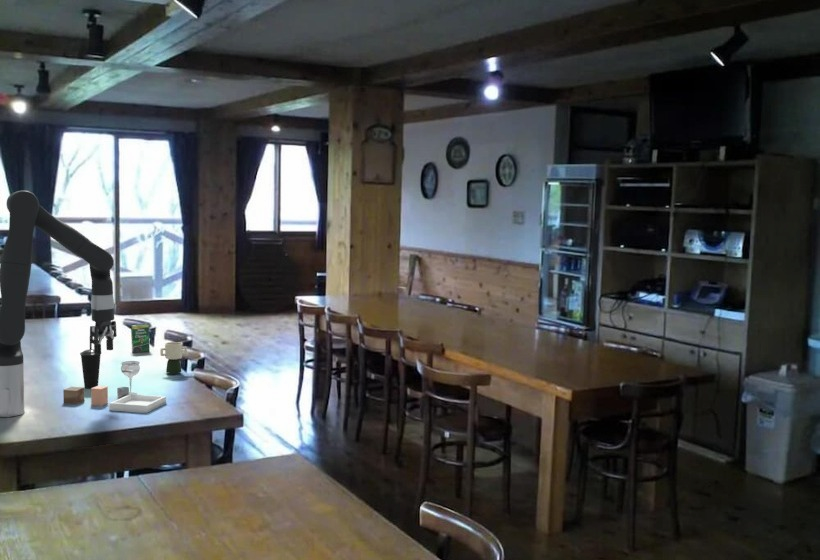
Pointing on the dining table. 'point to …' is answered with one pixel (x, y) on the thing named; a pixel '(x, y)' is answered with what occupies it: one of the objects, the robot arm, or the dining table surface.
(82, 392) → the walnut cube
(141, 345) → the coffee box
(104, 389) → the terracotta block
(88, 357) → the drinking cup
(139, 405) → the tray
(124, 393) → the grey cube
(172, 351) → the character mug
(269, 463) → the dining table surface
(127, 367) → the wineglass
